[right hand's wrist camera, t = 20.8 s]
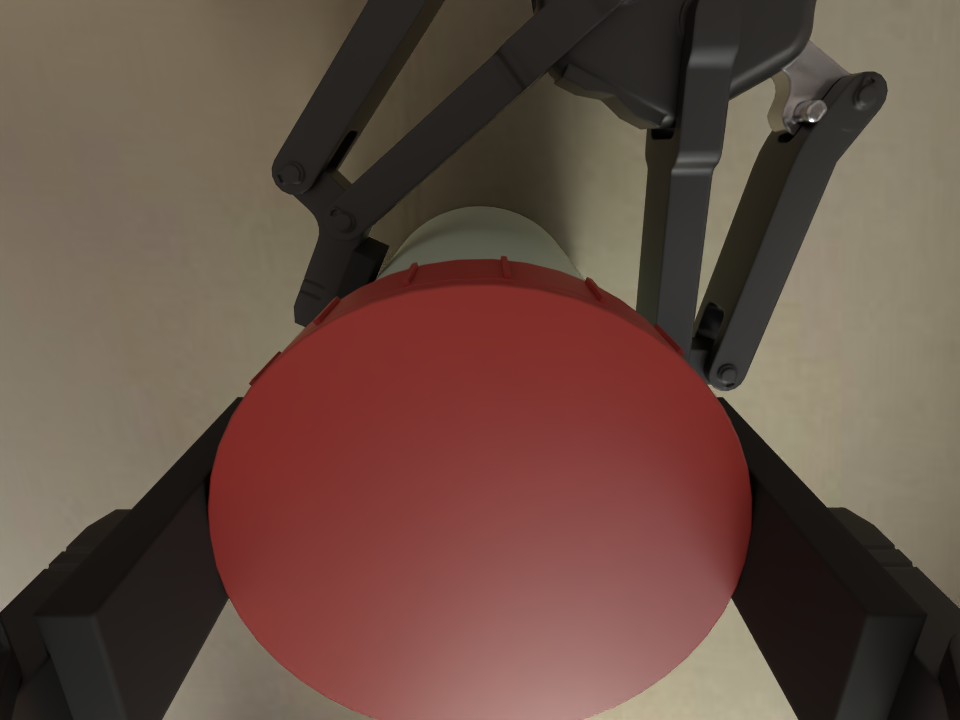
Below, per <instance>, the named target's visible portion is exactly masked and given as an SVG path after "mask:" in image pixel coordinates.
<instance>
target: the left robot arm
mask: <svg viewBox="0 0 960 720" xmlns="http://www.w3.org/2000/svg"><path fill="white" fill-rule="evenodd" d="M444 1H445V0H369V1H368V2H367V4H366V6H365V7H364V9H363V11H362V13H361V14H360V16H359V18H358V19H357V21H356V23H355V24H354V26H353V28H352V29H351V31H350V33H349V35H348V36H347V38H346V40H345V41H344V43H343V45H342V46H341V48H340V50H339V52H338V53H337V55H336V57H335V58H334V60H333V62H332V63H331V65H330V67H329V68H328V70H327V72H326V74H325V75H324V77H323V79H322V80H321V82H320V84H319V85H318V87H317V89H316V90H315V92H314V94H313V96H312V97H311V99H310V101H309V102H308V104H307V106H306V107H305V109H304V111H303V113H302V114H301V116H300V118H299V119H298V121H297V123H296V124H295V126H294V128H293V129H292V131H291V133H290V135H289V136H288V138H287V140H286V141H285V143H284V145H283V146H282V148H281V150H280V151H279V153H278V155H277V157H276V158H275V160H274V163H273V166H272V177H273V179H274V181H275V183H276V185H277V186H278V187H279V188H280V189H281V190H282V191H284V192H286V193H288V194H291V195H294V196H295V197H296V198H297V199H298V200H299V201H300V202H301V203H302V204H304V205H305V206H306V207H307V208H308V209H309V210H310V211H311V212H312V213H313V215H314V216H315V218H316V220H317V222H318V226H319V237H318V241H317V244H316V247H315V250H314V252H313V255H312V258H311V261H310V263H309V266H308V269H307V272H306V275H305V277H304V280H303V283H302V286H301V288H300V291H299V294H298V297H297V299H296V302H295V305H294V316H295V323H297V324H299V325H302V326H304V327H306V326H307V325H308V324H310V323H311V322H312V321H313V320H314V319H315V318H316V317H317V316H318V315H319V314H320V313H321V312H322V311H323V309H324V308H325V307H326V306H327V305H328V304H329V303H330V302H331V301H332V300H333V299H334V298H335V297H337V296H338V297H339V299H340V300H341V299H342V298H344V297H345V296H347V295H349V294H350V293H352V292H354V291H355V290H357V289H358V288H360V287H362V286H365V285H367V284H369V283H372V282H374V281H375V280H376V277H377V275H378V273H379V270H380V268H381V265H382V263H383V260H384V258H385V255H386V253H387V250H388V248H389V246H388V245H386V244H384V243H382V242H379V241H377V240H375V239H373V238H371V237H368V235H369V233H370V230H371V228H372V226H373V225H374V224H375V223H376V222H377V221H378V220H380V219H381V218H382V217H383V216H384V215H385V214H386V213H388V212H389V211H390V210H391V209H392V208H393V207H394V206H395V205H397V204H398V203H399V202H400V201H401V200H402V199H403V198H405V197H406V196H407V195H408V194H409V193H410V192H411V191H412V190H414V189H415V188H416V187H417V186H418V185H419V184H420V183H422V182H423V181H424V180H425V179H426V178H427V177H428V176H429V175H431V174H432V173H433V172H434V171H435V170H436V169H437V168H439V167H440V166H441V165H442V164H443V163H444V162H445V161H446V160H448V159H449V158H450V157H451V156H452V155H453V154H454V153H456V152H457V151H458V150H459V149H460V148H461V147H462V146H463V145H465V144H466V143H467V142H468V141H469V140H470V139H471V138H473V137H474V136H475V135H476V134H477V133H478V132H479V131H480V130H482V129H483V128H484V127H485V126H486V125H487V124H488V123H490V122H491V121H492V120H493V119H494V118H495V117H496V116H497V115H499V114H500V113H501V112H502V111H503V110H504V109H505V108H507V107H508V106H509V105H510V104H511V103H512V102H513V101H514V100H516V99H517V98H518V97H519V96H520V95H521V94H523V93H524V92H525V91H526V90H527V89H528V88H529V87H531V86H532V85H533V84H534V83H535V82H536V81H537V80H539V79H540V78H541V77H542V76H543V75H544V74H545V73H546V72H548V73H549V74H550V75H551V77H552V78H553V79H554V80H555V82H554V84H555V85H557V86H559V87H561V88H563V89H565V90H567V91H568V92H570V93H572V94H574V95H577V96H583V97H588V98H593V99H598V100H601V101H602V102H603V103H605V104H606V105H607V106H608V107H609V108H610V109H611V110H612V111H613V112H614V113H615V114H616V115H617V116H618V117H619V118H620V119H622V120H624V121H626V122H628V123H630V124H631V125H633V126H635V127H637V128H639V129H647V136H646V150H645V156H646V162H647V166H648V175H647V186H646V198H645V210H644V222H643V234H642V246H641V258H640V270H639V281H638V293H637V305H636V312H637V313H639V314H640V315H641V316H643V317H644V318H645V319H646V320H647V321H648V322H649V323H650V324H651V325H652V326H654V325H655V324H658V325H659V326H660V327H661V328H662V329H663V330H664V331H665V332H666V333H667V334H668V335H669V336H670V337H671V338H672V339H673V340H674V341H675V342H676V343H677V344H678V345H679V346H680V347H681V349H682V350H683V351H684V352H685V353H684V354H683V355H682V357H683V358H684V359H685V360H686V361H687V362H688V364H689V365H690V366H691V367H692V368H693V369H694V370H695V371H696V372H697V373H698V374H699V375H700V376H701V377H702V378H703V380H704V381H705V382H706V384H710V385H712V386H713V387H714V388H716V389H718V390H720V391H729V390H732V389H735V388H736V387H738V386H739V385H740V384H741V383H742V381H743V380H744V378H745V376H746V374H747V372H748V369H749V367H750V365H751V362H752V360H753V357H754V355H755V353H756V350H757V348H758V346H759V343H760V341H761V339H762V336H763V334H764V332H765V329H766V327H767V325H768V322H769V320H770V317H771V315H772V313H773V310H774V308H775V306H776V303H777V301H778V299H779V296H780V294H781V292H782V289H783V287H784V284H785V282H786V280H787V277H788V275H789V273H790V270H791V268H792V266H793V263H794V261H795V259H796V256H797V254H798V252H799V249H800V247H801V244H802V242H803V240H804V237H805V235H806V233H807V230H808V228H809V226H810V223H811V221H812V219H813V216H814V214H815V212H816V209H817V207H818V204H819V202H820V200H821V197H822V195H823V193H824V190H825V188H826V186H827V183H828V181H829V179H830V176H831V174H832V172H833V169H834V167H835V164H836V162H837V161H838V160H839V158H840V157H841V156H842V155H843V154H844V152H845V151H846V150H847V149H848V147H849V146H850V145H851V144H852V143H853V141H854V140H855V139H856V138H857V136H858V135H859V134H860V133H861V132H862V130H863V129H864V128H865V127H866V125H867V124H868V123H869V122H870V121H871V119H872V118H873V117H874V116H875V114H876V113H877V112H878V111H879V110H880V108H881V107H882V105H883V103H884V102H885V100H886V95H887V91H888V90H887V84H886V81H885V79H884V78H883V77H882V75H880V74H878V73H876V72H862V73H856V74H850V73H848V72H847V71H846V70H844V69H843V68H842V67H841V66H840V65H838V64H837V63H836V62H835V61H834V60H833V59H831V58H830V57H829V56H828V55H827V54H825V53H824V52H823V51H822V50H821V49H819V48H818V47H817V46H816V45H815V44H814V43H812V42H811V41H810V40H809V38H810V36H811V32H812V28H813V20H814V11H815V5H816V1H817V0H532V7H533V14H534V16H533V17H532V18H531V19H530V20H529V21H528V22H527V23H526V24H525V25H523V26H522V27H521V28H520V29H519V30H518V31H517V32H516V33H515V34H514V35H513V36H511V37H510V38H509V39H508V40H507V41H506V42H505V43H504V44H503V45H502V46H501V47H500V48H499V49H498V51H497V52H496V53H495V54H494V55H493V56H492V57H491V58H490V59H489V60H488V61H487V62H486V63H484V64H483V65H482V66H481V67H480V68H479V69H478V70H477V71H476V72H475V73H474V74H472V75H471V76H470V77H469V78H468V79H467V80H466V81H465V82H464V83H463V84H462V85H460V86H459V87H458V88H457V89H456V90H455V91H454V92H453V93H452V94H451V95H449V96H448V97H447V98H446V99H445V100H444V101H443V102H442V103H441V104H440V105H439V106H437V107H436V108H435V109H434V110H433V111H432V112H431V113H430V114H429V115H428V116H427V117H425V118H424V119H423V120H422V121H421V122H420V123H419V124H418V125H417V126H416V127H414V128H413V129H412V130H411V131H410V132H409V133H408V134H407V135H406V136H405V137H404V138H402V139H401V140H400V141H399V142H398V143H397V144H396V145H395V146H394V147H393V148H392V149H390V150H389V151H388V152H387V153H386V154H385V155H384V156H383V157H382V158H381V159H380V160H378V161H377V162H376V163H375V164H374V165H373V166H372V167H371V168H370V169H369V170H367V171H366V172H365V173H364V174H363V175H362V176H361V177H360V178H359V179H358V180H357V181H355V182H354V183H353V184H351V183H350V182H349V181H348V180H347V179H346V178H345V177H344V176H343V175H342V174H341V173H340V172H339V171H338V169H339V167H340V166H341V164H342V163H343V161H344V160H345V158H346V156H347V155H348V153H349V152H350V150H351V148H352V147H353V145H354V144H355V142H356V141H357V139H358V137H359V136H360V134H361V133H362V131H363V129H364V128H365V126H366V125H367V123H368V122H369V120H370V118H371V117H372V115H373V114H374V112H375V110H376V109H377V107H378V106H379V104H380V103H381V101H382V99H383V98H384V96H385V95H386V93H387V91H388V90H389V88H390V87H391V85H392V83H393V82H394V80H395V79H396V77H397V76H398V74H399V72H400V71H401V69H402V68H403V66H404V64H405V63H406V61H407V60H408V58H409V57H410V55H411V53H412V52H413V50H414V49H415V47H416V45H417V44H418V42H419V41H420V39H421V38H422V36H423V34H424V33H425V31H426V30H427V28H428V26H429V25H430V23H431V22H432V20H433V19H434V17H435V15H436V14H437V12H438V11H439V9H440V7H441V6H442V4H443V3H444ZM770 77H771V78H772V79H773V82H774V84H775V90H776V93H775V99H774V101H773V103H772V105H771V108H770V110H769V112H768V115H767V118H768V122H769V125H770V128H771V129H772V132H771V133H770V135H769V136H768V138H767V139H766V141H765V143H764V145H763V147H762V148H761V150H760V152H759V154H758V157H757V159H756V161H755V163H754V166H753V168H752V171H751V174H750V176H749V179H748V181H747V184H746V187H745V189H744V192H743V195H742V197H741V200H740V203H739V205H738V208H737V211H736V213H735V216H734V219H733V221H732V224H731V227H730V229H729V232H728V235H727V237H726V240H725V242H724V245H723V248H722V250H721V253H720V256H719V258H718V261H717V264H716V266H715V269H714V272H713V274H712V277H711V280H710V282H709V285H708V288H707V290H706V293H705V295H704V298H703V301H702V303H701V306H700V309H699V311H698V314H697V317H696V319H695V312H696V304H697V296H698V288H699V279H700V271H701V263H702V255H703V247H704V239H705V230H706V222H707V214H708V206H709V198H710V190H711V181H712V174H713V171H714V168H715V167H716V165H717V164H718V163H719V160H720V157H721V154H722V149H723V141H724V133H725V125H726V117H727V109H728V101H729V100H731V99H733V98H735V97H736V96H738V95H740V94H742V93H744V92H745V91H747V90H749V89H751V88H752V87H754V86H756V85H758V84H760V83H761V82H763V81H765V80H767V79H768V78H770ZM694 320H695V322H694Z"/></svg>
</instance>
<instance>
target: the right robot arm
mask: <svg viewBox="0 0 960 720" xmlns="http://www.w3.org/2000/svg"><path fill="white" fill-rule="evenodd" d="M243 398H244V397H237V399H236V400H235V401H234V402H233V403H232V404H231V405H230V406H229V407H228V408H227V409H226V410H225V411H224V412H223V413H222V414H221V415H220V416H219V418H218V419H217V420H216V421H215V422H214V423H213V424H212V425H211V426H210V427H209V428H208V429H207V430H206V431H205V432H204V433H203V434H202V436H201V437H200V438H199V439H198V440H197V441H196V442H195V443H194V444H193V445H192V446H191V447H190V448H189V449H188V450H187V451H186V452H185V454H184V455H183V456H182V457H181V458H180V459H179V460H178V461H177V462H176V463H175V464H174V465H173V466H172V467H171V468H170V469H169V470H168V472H167V473H166V474H165V475H164V476H163V477H162V478H161V479H160V480H159V481H158V482H157V483H156V484H155V485H154V486H153V487H152V488H151V490H150V491H149V492H148V493H147V494H146V495H145V496H144V497H143V498H142V499H141V500H140V501H139V502H138V503H137V504H136V505H135V506H134V507H133V509H116V510H114V511H113V512H111V513H109V514H108V515H106V516H104V517H103V518H101V519H99V520H98V521H96V522H95V523H93V524H91V525H90V526H88V527H87V528H86V529H85V530H84V531H83V532H82V533H81V534H79V535H78V536H77V537H76V538H75V539H74V540H73V541H72V542H71V543H70V544H69V545H68V546H67V547H66V548H67V549H66V551H62V552H61V553H60V554H59V555H58V556H57V557H56V558H55V559H54V560H53V561H52V562H51V563H50V564H49V568H48V569H44V570H43V571H42V572H41V573H40V574H39V575H38V576H37V577H36V578H35V579H34V580H33V581H32V582H31V583H30V584H29V585H28V586H27V587H26V588H25V589H24V590H23V591H22V592H20V593H19V594H18V595H17V596H16V597H15V598H14V599H13V600H12V601H11V602H10V603H9V604H8V605H7V606H6V607H5V608H4V609H3V610H2V611H1V612H0V720H162V719H163V717H164V715H165V713H166V711H167V710H168V708H169V706H170V704H171V702H172V701H173V699H174V697H175V695H176V693H177V691H178V690H179V688H180V686H181V684H182V682H183V681H184V679H185V677H186V675H187V673H188V671H189V670H190V668H191V666H192V664H193V662H194V660H195V659H196V657H197V655H198V653H199V651H200V650H201V648H202V646H203V644H204V642H205V640H206V639H207V637H208V635H209V633H210V631H211V630H212V628H213V626H214V624H215V622H216V620H217V619H218V617H219V615H220V613H221V611H222V610H223V608H224V606H225V604H226V602H227V600H228V599H229V597H228V595H227V593H226V590H225V588H224V585H223V583H222V580H221V578H220V575H219V572H218V570H217V567H216V562H215V557H214V552H213V547H212V543H211V538H210V532H209V521H208V497H209V487H210V476H211V472H212V468H213V465H214V461H215V457H216V453H217V449H218V446H219V443H220V441H221V439H222V437H223V434H224V432H225V430H226V428H227V425H228V423H229V421H230V419H231V416H232V415H233V413H234V412H235V410H236V409H237V407H238V405H239V404H240V402H241V401H242V399H243ZM716 398H717V399H718V400H719V402H720V403H721V405H722V406H723V407H724V409H725V411H726V413H727V415H728V416H729V417H730V419H731V421H732V425H733V427H734V429H735V431H736V433H737V435H738V437H739V441H740V444H741V447H742V450H743V453H744V457H745V460H746V463H747V466H748V472H749V479H750V486H751V493H752V529H751V534H750V540H749V545H748V550H747V555H746V560H745V564H744V567H743V570H742V573H741V576H740V578H739V581H738V584H737V587H736V589H735V591H734V593H733V595H732V596H731V598H732V600H733V602H734V603H735V605H736V607H737V609H738V611H739V612H740V614H741V616H742V618H743V620H744V622H745V623H746V625H747V627H748V629H749V631H750V633H751V634H752V636H753V638H754V640H755V642H756V643H757V645H758V647H759V649H760V651H761V653H762V654H763V656H764V658H765V660H766V662H767V663H768V665H769V667H770V669H771V671H772V673H773V674H774V676H775V678H776V680H777V682H778V683H779V685H780V687H781V689H782V691H783V693H784V694H785V696H786V698H787V700H788V702H789V704H790V705H791V707H792V709H793V711H794V713H795V714H796V716H797V718H798V720H960V609H959V608H958V607H957V606H956V605H955V604H954V603H953V602H952V601H951V600H950V599H949V598H948V597H947V596H946V595H945V594H944V593H943V592H942V591H941V590H940V589H939V588H938V587H937V586H936V585H935V584H934V583H933V582H932V581H931V580H930V579H929V578H928V577H927V576H925V575H924V574H923V573H922V572H921V571H920V570H919V569H918V568H917V567H913V566H912V562H911V561H910V560H909V559H908V558H907V557H906V556H905V555H904V554H903V553H902V552H901V551H900V550H898V549H895V545H894V544H893V543H892V542H891V541H890V540H889V539H888V538H887V537H886V536H885V535H883V534H882V533H881V532H880V531H879V530H878V529H877V528H876V527H875V526H874V525H873V524H871V523H870V522H868V521H866V520H865V519H863V518H861V517H860V516H858V515H856V514H855V513H853V512H851V511H850V510H848V509H846V508H827V507H826V506H825V505H824V504H823V503H822V502H821V501H820V500H819V499H818V498H817V496H816V495H815V494H814V493H813V492H812V491H811V490H810V489H809V488H808V487H807V486H806V485H805V484H804V483H803V482H802V481H801V480H800V479H799V477H798V476H797V475H796V474H795V473H794V472H793V471H792V470H791V469H790V468H789V467H788V466H787V465H786V464H785V463H784V462H783V461H782V459H781V458H780V457H779V456H778V455H777V454H776V453H775V452H774V451H773V450H772V449H771V448H770V447H769V446H768V445H767V444H766V443H765V441H764V440H763V439H762V438H761V437H760V436H759V435H758V434H757V433H756V432H755V431H754V430H753V429H752V428H751V427H750V426H749V425H748V423H747V422H746V421H745V420H744V419H743V418H742V417H741V416H740V415H739V414H738V413H737V412H736V411H735V410H734V409H733V408H732V407H731V405H730V404H729V403H728V402H727V401H726V400H725V399H724V398H723V397H716Z"/></svg>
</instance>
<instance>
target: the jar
mask: <svg viewBox="0 0 960 720" xmlns="http://www.w3.org/2000/svg"><path fill="white" fill-rule="evenodd" d="M501 256H507V259H508V261H516V262H525V263H530V264H534V265H538V266H542V267H546V268H550V269H554V270H558V271H562V272H564V273H567V274H569V275H572V276H574V277H577V278H579V279H582V280H584V278H583V277H582V276H581V274H580V273H579V272H578V270H577V269H576V268H575V266H574V265H573V264H572V262H571V261H570V260H569V258H568V257H567V256H566V254H565V253H564V252H563V250H562V249H561V248H560V246H559V245H558V244H557V243H556V242H555V240H554V239H553V238H552V237H551V236H550V235H549V234H548V233H547V232H546V231H545V230H544V229H543V228H542V227H540V226H539V225H537V224H536V223H534V222H533V221H531V220H530V219H528V218H526V217H524V216H522V215H520V214H518V213H515V212H512V211H509V210H506V209H501V208H496V207H486V206H474V207H464V208H459V209H455V210H451V211H448V212H446V213H443V214H440V215H438V216H436V217H434V218H432V219H431V220H429V221H427V222H426V223H424V224H423V225H422V226H420V227H419V228H418V229H416V230H415V231H414V232H413V233H412V234H411V235H410V236H409V237H408V238H407V239H406V241H405V242H404V243H403V244H402V246H401V247H400V248H399V249H398V251H397V252H396V253H395V255H394V256H393V257H392V259H391V260H390V261H389V263H388V264H387V265H386V267H385V268H384V269H383V271H382V272H381V273H380V275H379V276H378V277H377V279H376V280H378V279H381V278H383V277H385V276H387V275H390V274H393V273H396V272H400V271H403V270H407V269H409V268H410V266H411V264H412V263H416V262H417V263H418V266H420V265H424V264H431V263H438V262H444V261H451V260H458V259H498V260H501ZM376 280H375V281H376ZM584 281H585V280H584Z"/></svg>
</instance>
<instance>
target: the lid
mask: <svg viewBox="0 0 960 720" xmlns="http://www.w3.org/2000/svg"><path fill="white" fill-rule="evenodd" d="M684 353H685V352H684V351H683V350H682V349H681V347H680V346H679V345H678V344H677V343H676V342H675V341H674V340H673V339H672V338H671V337H670V336H669V335H668V334H667V333H666V332H665V331H664V330H663V329H662V328H661V327H660V326H659V325H658V324H655V325H654V326H652V325H651V324H650V323H649V322H648V321H647V320H646V319H645V318H644V317H643V316H641V315H640V314H639V313H637V312H636V311H635V310H634V309H632V308H631V307H630V306H628V305H627V304H626V303H624V302H623V301H622V300H620V299H619V298H617V297H615V296H613V295H612V294H610V293H608V292H606V291H604V290H603V289H601V288H599V287H598V286H597V285H596V284H595V282H594V281H593V280H592V279H591V278H588V277H587V278H586V280H585V281H584V280H582V279H579V278H577V277H574V276H572V275H569V274H567V273H564V272H562V271H558V270H554V269H550V268H546V267H542V266H538V265H534V264H530V263H525V262H516V261H508V259H507V256H501V260H498V259H458V260H451V261H444V262H438V263H431V264H424V265H420V266H418V263H417V262H416V263H412V264H411V266H410V268H409V269H407V270H403V271H400V272H396V273H393V274H390V275H387V276H385V277H383V278H381V279H378V280H376V281H374V282H372V283H369V284H367V285H365V286H362V287H360V288H358V289H357V290H355V291H354V292H352V293H350V294H349V295H347V296H345V297H344V298H342V299H341V300H340V299H339V297H338V296H337V297H335V298H334V299H333V300H332V301H331V302H330V303H329V304H328V305H327V306H326V307H325V308H324V309H323V311H322V312H321V313H320V314H319V315H318V316H317V317H316V318H315V319H314V320H313V321H312V322H311V323H310V324H308V325H307V326H306V327H305V328H304V329H303V331H302V332H301V333H300V334H299V335H298V336H297V337H296V338H295V339H294V340H293V341H292V342H291V343H290V344H289V345H288V347H287V348H286V349H285V350H284V351H283V352H282V353H281V352H280V351H279V352H278V353H277V354H276V355H275V356H274V357H273V358H272V359H271V360H270V361H269V362H268V363H267V364H266V365H265V367H264V368H263V369H262V370H261V371H260V372H259V373H258V374H257V375H256V376H255V377H254V378H253V379H252V380H251V382H250V383H249V384H250V385H251V387H250V389H249V390H248V392H247V393H246V395H245V396H244V398H243V399H242V401H241V402H240V404H239V405H238V407H237V409H236V410H235V412H234V413H233V415H232V416H231V419H230V421H229V423H228V425H227V428H226V430H225V432H224V434H223V437H222V439H221V441H220V443H219V446H218V449H217V453H216V457H215V461H214V465H213V468H212V472H211V476H210V487H209V497H208V521H209V532H210V538H211V543H212V547H213V552H214V557H215V562H216V567H217V570H218V572H219V575H220V578H221V580H222V583H223V585H224V588H225V590H226V593H227V595H228V597H229V598H230V600H231V602H232V604H233V605H234V607H235V609H236V611H237V613H238V614H239V616H240V618H241V619H242V621H243V622H244V623H245V625H246V626H247V627H248V629H249V630H250V631H251V633H252V634H253V635H254V637H255V638H256V639H257V641H258V642H259V643H260V644H261V645H262V646H263V647H264V648H265V649H266V650H267V651H268V652H269V653H270V654H271V655H272V656H273V657H274V658H275V659H276V660H277V661H278V662H279V663H280V664H281V665H282V666H284V667H285V668H286V669H287V670H289V671H290V672H291V673H292V674H293V675H295V676H296V677H297V678H298V679H300V680H301V681H302V682H304V683H305V684H307V685H308V686H310V687H312V688H313V689H315V690H316V691H318V692H319V693H321V694H323V695H324V696H326V697H327V698H329V699H331V700H333V701H335V702H337V703H339V704H341V705H343V706H345V707H347V708H349V709H351V710H354V711H356V712H359V713H361V714H364V715H367V716H369V717H372V718H375V719H377V720H583V719H586V718H589V717H592V716H594V715H596V714H599V713H601V712H604V711H606V710H608V709H611V708H613V707H616V706H617V705H619V704H621V703H623V702H625V701H627V700H629V699H630V698H632V697H634V696H636V695H638V694H640V693H642V692H643V691H644V690H646V689H647V688H649V687H650V686H652V685H653V684H655V683H656V682H658V681H659V680H660V679H662V678H663V677H665V676H666V675H667V674H668V673H670V672H671V671H672V670H673V669H674V668H675V667H677V666H678V665H679V664H680V663H681V662H682V661H683V660H685V659H686V658H687V657H688V656H689V655H690V654H691V653H692V652H693V650H694V649H695V648H696V647H697V646H698V645H699V644H700V643H701V642H702V641H703V639H704V638H705V637H706V636H707V635H708V633H709V632H710V631H711V629H712V628H713V626H714V625H715V623H716V622H717V621H718V619H719V618H720V616H721V615H722V613H723V612H724V610H725V608H726V606H727V604H728V602H729V600H730V598H731V596H732V595H733V593H734V591H735V589H736V587H737V584H738V581H739V578H740V576H741V573H742V570H743V567H744V564H745V560H746V555H747V550H748V545H749V540H750V534H751V529H752V493H751V486H750V479H749V472H748V466H747V463H746V460H745V457H744V453H743V450H742V447H741V444H740V441H739V437H738V435H737V433H736V431H735V429H734V427H733V425H732V421H731V419H730V417H729V416H728V415H727V413H726V411H725V409H724V407H723V406H722V405H721V403H720V402H719V400H718V399H717V398H716V396H715V395H714V393H713V392H712V391H711V389H710V388H709V387H708V385H707V384H706V382H705V381H704V380H703V378H702V377H701V376H700V375H699V374H698V373H697V372H696V371H695V370H694V369H693V368H692V367H691V366H690V365H689V364H688V362H687V361H686V360H685V359H684V358H683V357H682V355H683V354H684Z"/></svg>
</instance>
